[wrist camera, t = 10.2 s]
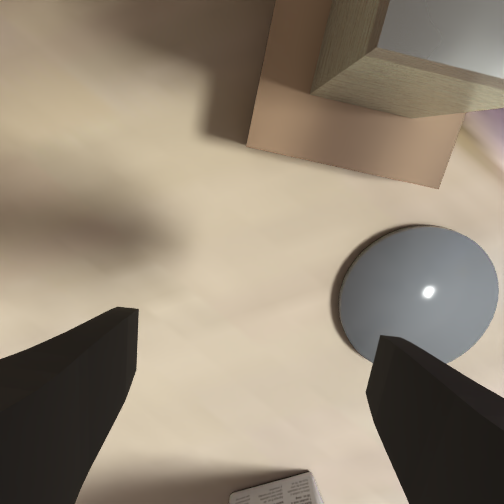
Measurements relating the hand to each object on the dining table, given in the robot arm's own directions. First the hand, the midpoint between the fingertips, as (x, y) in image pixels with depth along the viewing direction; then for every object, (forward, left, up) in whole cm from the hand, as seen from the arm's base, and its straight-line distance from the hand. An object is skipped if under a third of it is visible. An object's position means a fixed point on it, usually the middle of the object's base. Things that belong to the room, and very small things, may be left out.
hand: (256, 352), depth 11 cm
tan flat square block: (-3, -10, -10) cm, 15 cm away
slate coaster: (-10, +1, -10) cm, 14 cm away
